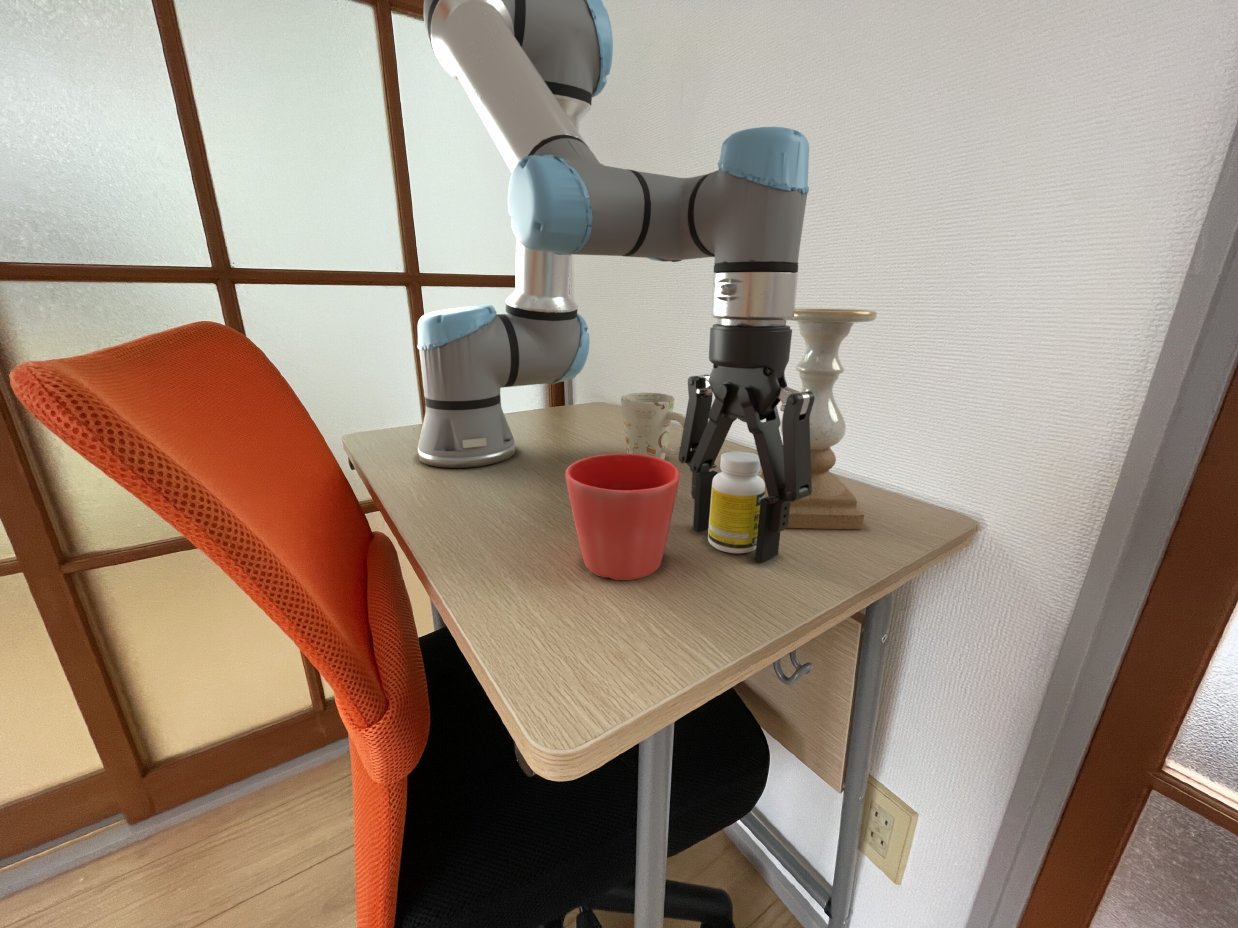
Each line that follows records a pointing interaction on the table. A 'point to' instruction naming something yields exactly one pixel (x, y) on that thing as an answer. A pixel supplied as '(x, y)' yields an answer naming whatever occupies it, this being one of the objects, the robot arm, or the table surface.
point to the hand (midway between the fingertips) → (733, 541)
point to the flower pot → (622, 512)
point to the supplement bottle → (736, 503)
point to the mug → (649, 423)
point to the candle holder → (825, 419)
